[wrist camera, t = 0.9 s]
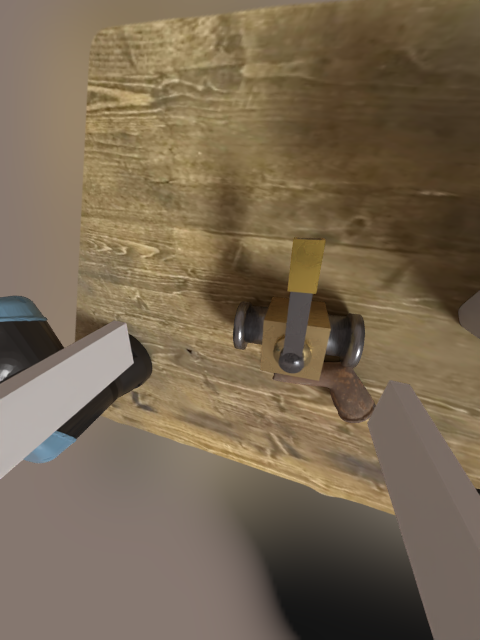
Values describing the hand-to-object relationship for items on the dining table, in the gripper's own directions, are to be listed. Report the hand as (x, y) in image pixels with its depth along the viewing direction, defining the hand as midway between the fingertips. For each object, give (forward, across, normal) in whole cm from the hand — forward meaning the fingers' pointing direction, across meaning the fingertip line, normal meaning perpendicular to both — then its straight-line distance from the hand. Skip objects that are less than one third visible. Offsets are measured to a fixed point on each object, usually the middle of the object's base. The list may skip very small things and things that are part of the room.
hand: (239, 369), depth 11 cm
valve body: (+25, +4, -9) cm, 27 cm away
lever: (+15, +3, -2) cm, 15 cm away
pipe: (+25, +10, -19) cm, 33 cm away
